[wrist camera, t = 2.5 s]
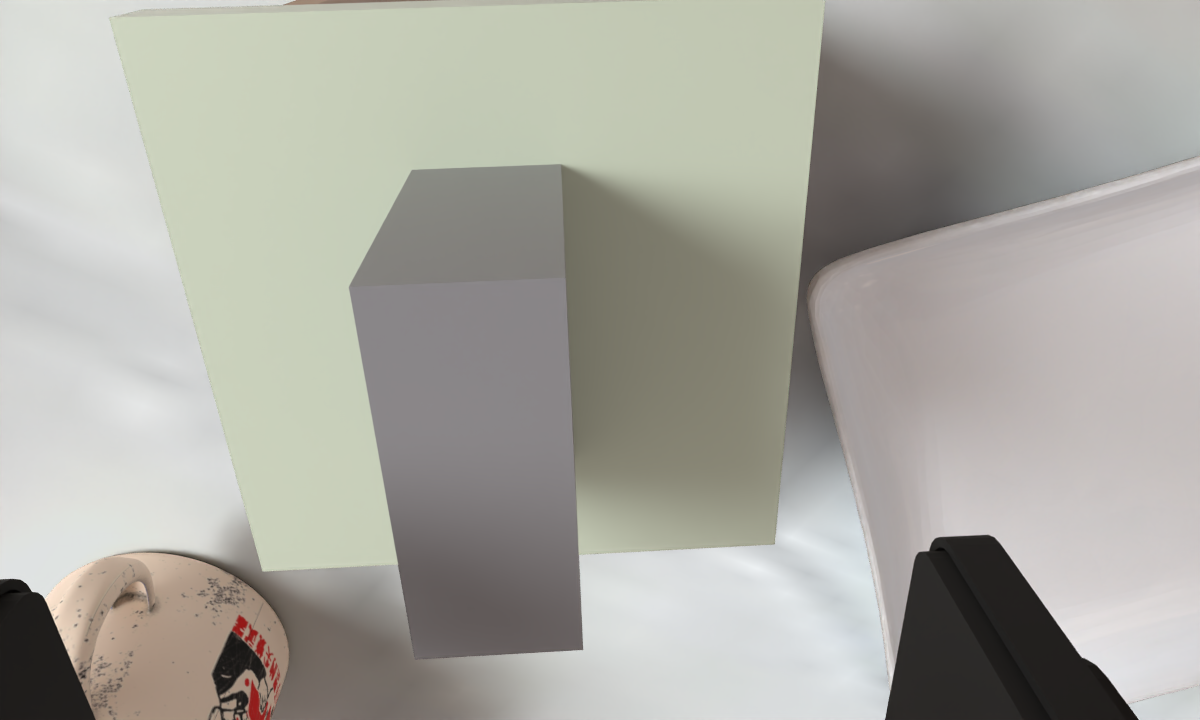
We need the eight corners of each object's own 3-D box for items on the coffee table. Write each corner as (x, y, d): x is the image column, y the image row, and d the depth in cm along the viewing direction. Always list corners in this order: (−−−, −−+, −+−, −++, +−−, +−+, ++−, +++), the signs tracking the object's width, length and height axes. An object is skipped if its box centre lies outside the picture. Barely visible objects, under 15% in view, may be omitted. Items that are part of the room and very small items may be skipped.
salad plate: (1418, 554, 33) (1506, 620, 30) (878, 694, 35) (909, 768, 32) (1523, -11, 23) (1671, 0, 20) (766, 232, 25) (796, 276, 22)
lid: (142, 9, 14) (-124, 73, 8) (805, -11, 14) (962, 37, 9) (278, 535, 19) (169, 785, 14) (762, 509, 19) (845, 744, 14)
